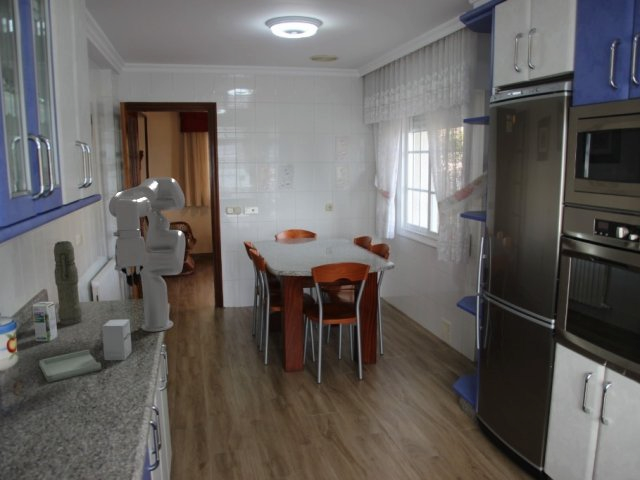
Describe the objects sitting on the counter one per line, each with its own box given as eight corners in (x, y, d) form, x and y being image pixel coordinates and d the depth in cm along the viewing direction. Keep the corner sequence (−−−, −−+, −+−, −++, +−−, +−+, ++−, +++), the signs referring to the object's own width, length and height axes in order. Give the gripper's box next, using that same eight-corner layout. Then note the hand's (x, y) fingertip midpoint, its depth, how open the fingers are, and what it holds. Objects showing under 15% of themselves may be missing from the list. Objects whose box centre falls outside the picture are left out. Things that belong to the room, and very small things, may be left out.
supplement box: (125, 360, 181) (122, 325, 179) (104, 360, 181) (100, 326, 179) (132, 352, 188) (130, 318, 186) (112, 352, 188) (109, 319, 186)
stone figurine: (81, 316, 230) (74, 239, 224) (82, 324, 219) (75, 243, 213) (59, 319, 226) (51, 240, 220) (59, 327, 216) (50, 245, 210)
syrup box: (35, 341, 200) (31, 305, 198) (44, 336, 206) (40, 301, 204) (49, 341, 200) (45, 305, 197) (58, 336, 206) (54, 301, 203)
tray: (39, 366, 177) (38, 360, 176) (89, 354, 186) (88, 349, 186) (48, 382, 164) (47, 376, 164) (101, 369, 174) (100, 363, 173)
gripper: (109, 238, 174) (113, 291, 177) (154, 233, 183) (158, 283, 186) (103, 235, 180) (107, 286, 183) (147, 230, 189) (151, 279, 192)
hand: (133, 284), depth 184 cm, fingers closed
